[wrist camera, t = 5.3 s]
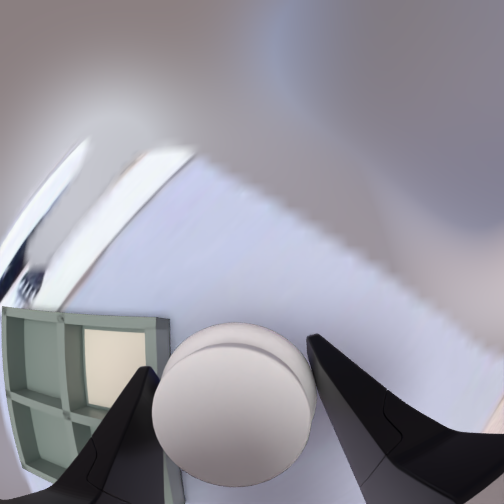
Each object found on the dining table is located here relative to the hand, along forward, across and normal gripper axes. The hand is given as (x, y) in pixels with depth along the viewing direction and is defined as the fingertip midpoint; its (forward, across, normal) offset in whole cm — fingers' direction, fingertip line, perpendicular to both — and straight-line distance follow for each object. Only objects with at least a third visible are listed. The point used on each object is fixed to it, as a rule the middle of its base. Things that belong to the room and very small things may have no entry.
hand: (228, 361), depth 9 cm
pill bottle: (+4, 0, +6) cm, 7 cm away
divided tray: (+5, +15, +10) cm, 19 cm away
